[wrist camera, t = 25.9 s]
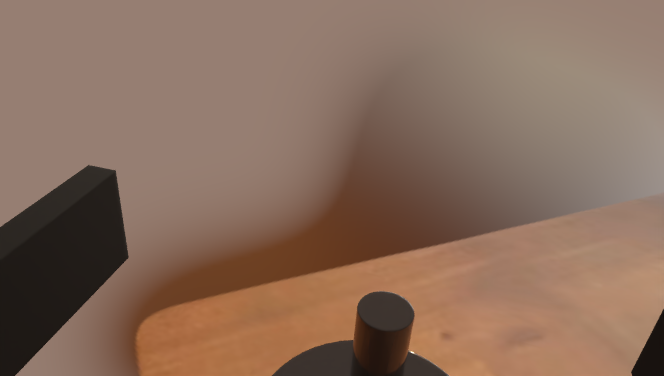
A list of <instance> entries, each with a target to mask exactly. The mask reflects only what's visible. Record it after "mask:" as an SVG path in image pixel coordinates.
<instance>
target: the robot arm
mask: <svg viewBox="0 0 664 376" xmlns="http://www.w3.org/2000/svg"><path fill="white" fill-rule="evenodd" d="M126 259H128V251H127V245H126V237H125V231H124V224H123V218H122V210H121V204H120V197H119V190H118V183H117V177H116V171H115V170H110V169H105V168H100V167H95V166H89V165H88V166H87V167H85V168H84V169H83V170H81V171H80V172H78V173H77V174H75V175H74V176H72V177H71V178H70V179H68V180H67V181H65V182H64V183H63V184H61V185H60V186H58V187H57V188H56V189H54V190H53V191H51V192H50V193H48V194H47V195H45V196H44V197H43V198H41V199H40V200H38V201H37V202H36V203H34V204H33V205H31V206H30V207H28V208H27V209H25V210H24V211H23V212H21V213H20V214H18V215H17V216H15V217H14V218H13V219H11V220H10V221H9V222H7V223H5V224H4V225H3V226H1V227H0V376H15V375H16V374H17V373H18V372H19V371H20V370H21V369H22V368H23V367H24V366H25V365H26V364H27V362H29V361H30V359H31V358H32V357H33V356H34V355H35V354H36V353H37V352H38V351H39V350H40V349H41V348H42V347H43V346H44V345H45V344H46V343H47V342H48V341H49V340H50V339H51V338H52V337H53V335H55V334H56V333H57V331H58V330H59V329H60V328H61V327H62V326H63V325H64V324H65V323H66V322H67V321H68V320H69V319H70V318H71V317H72V316H73V315H74V314H75V313H76V312H77V311H78V310H79V309H80V307H82V305H83V304H84V303H85V302H86V301H87V300H88V299H89V298H90V297H91V296H92V295H93V294H94V293H95V292H96V291H97V290H98V289H99V287H101V286H102V285H103V284H104V283H105V282H106V280H107V279H108V278H109V277H110V276H111V275H112V274H113V273H114V272H115V271H116V270H117V269H118V268H119V267H120V266H121V265H122V264H123V263H124V262H125V261H126ZM631 373H632V376H664V309H663V311H662V313H661V315H660V317H659V319H658V321H657V323H656V325H655V327H654V329H653V331H652V333H651V335H650V337H649V339H648V340H647V342H646V344H645V346H644V348H643V350H642V352H641V354H640V356H639V358H638V360H637V362H636V364H635V366H634V368H633V370H632V372H631Z"/></svg>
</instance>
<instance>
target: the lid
mask: <svg viewBox="0 0 664 376" xmlns="http://www.w3.org/2000/svg"><path fill="white" fill-rule="evenodd" d="M414 316H415V315H414V310H413V307H412V306H411V304H410V303H409V302H408V301H407V300H406V299H405V298H403V297H402V296H400V295H397V294H395V293H391V292H385V291H379V292H373V293H370V294H367V295H365V296H364V297H363V298H362V299H361V300H360V301H359V303H358V306H357V314H356V323H355V332H354V340H348V341H338V342H333V343H327V344H324V345H321V346H317V347H314V348H312V349H309V350H307V351H305V352H303V353H301V354H299V355H297V356H296V357H294V358H292V359H291V360H289V361H288V362H287V363H285V364H284V365H283V366H282V367H280V368H279V369H278V370H277V371H276V372H275V373H274V374H273V375H272V376H449V375H448V374H447V373H445V372H444V371H443V370H442V369H441V368H439V367H438V366H436V365H435V364H433V363H432V362H430V361H429V360H427V359H425V358H423V357H421V356H420V355H418V354H416V353H413V352H411V351H409V350H408V349H409V344H410V338H411V333H412V327H413V322H414Z"/></svg>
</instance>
